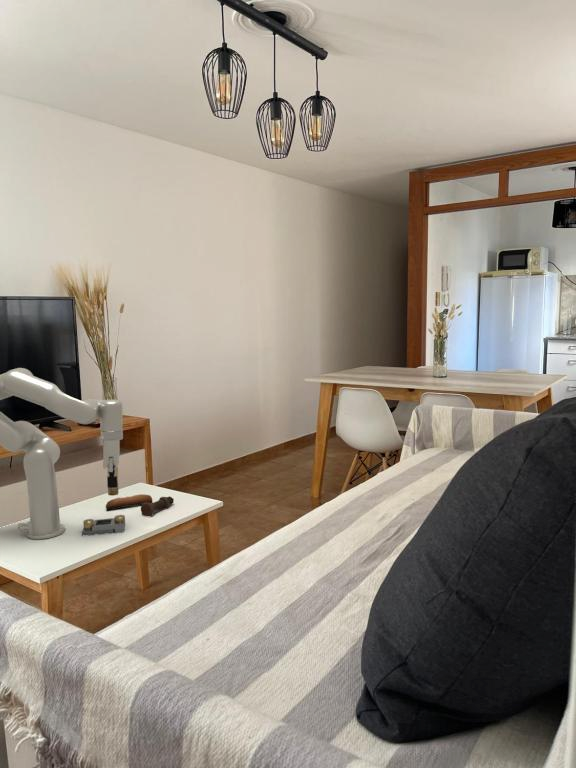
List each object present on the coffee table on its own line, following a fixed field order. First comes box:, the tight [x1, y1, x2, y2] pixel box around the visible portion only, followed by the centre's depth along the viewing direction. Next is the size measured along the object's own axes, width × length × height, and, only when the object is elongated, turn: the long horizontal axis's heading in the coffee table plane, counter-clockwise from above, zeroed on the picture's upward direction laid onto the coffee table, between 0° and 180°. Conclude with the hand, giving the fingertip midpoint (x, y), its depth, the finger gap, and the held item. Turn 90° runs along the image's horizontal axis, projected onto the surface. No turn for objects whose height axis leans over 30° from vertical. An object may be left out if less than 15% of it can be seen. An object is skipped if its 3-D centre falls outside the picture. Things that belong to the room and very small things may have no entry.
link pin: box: [106, 464, 119, 497], centre depth 208 cm, size 4×4×13 cm
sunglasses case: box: [105, 494, 153, 512], centre depth 234 cm, size 18×7×7 cm
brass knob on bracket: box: [81, 514, 126, 537], centre depth 207 cm, size 14×7×4 cm, turn 101°
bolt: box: [140, 496, 175, 517], centre depth 227 cm, size 6×5×15 cm
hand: (112, 485), depth 208 cm, fingers closed on link pin, 3 cm apart
